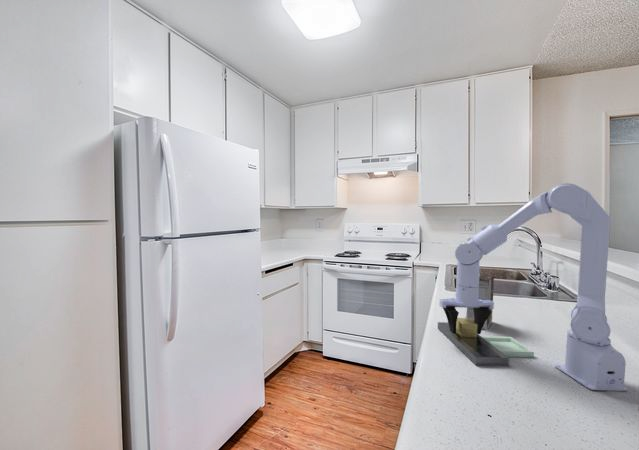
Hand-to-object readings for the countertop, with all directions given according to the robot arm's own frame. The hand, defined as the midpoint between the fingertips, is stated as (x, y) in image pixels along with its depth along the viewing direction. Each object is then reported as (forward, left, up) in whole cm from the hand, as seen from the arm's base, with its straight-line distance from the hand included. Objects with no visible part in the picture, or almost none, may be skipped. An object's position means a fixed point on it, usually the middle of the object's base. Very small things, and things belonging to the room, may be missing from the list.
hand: (465, 332), depth 83 cm
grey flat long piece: (-2, 0, -3) cm, 3 cm away
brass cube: (0, 0, -3) cm, 3 cm away
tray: (-4, -9, -3) cm, 10 cm away
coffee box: (+14, -12, -3) cm, 19 cm away
